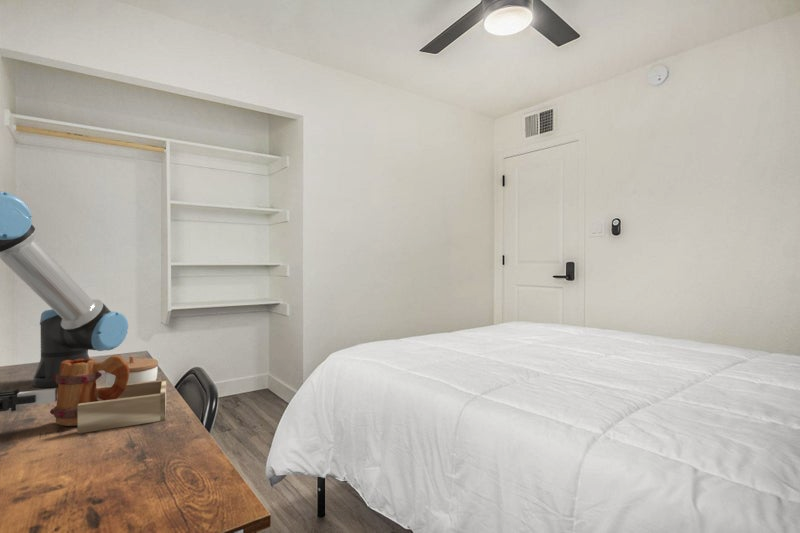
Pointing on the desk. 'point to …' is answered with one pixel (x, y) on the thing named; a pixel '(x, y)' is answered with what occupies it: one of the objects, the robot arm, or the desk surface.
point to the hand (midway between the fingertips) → (55, 395)
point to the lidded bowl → (137, 371)
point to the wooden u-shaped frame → (125, 407)
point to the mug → (86, 385)
